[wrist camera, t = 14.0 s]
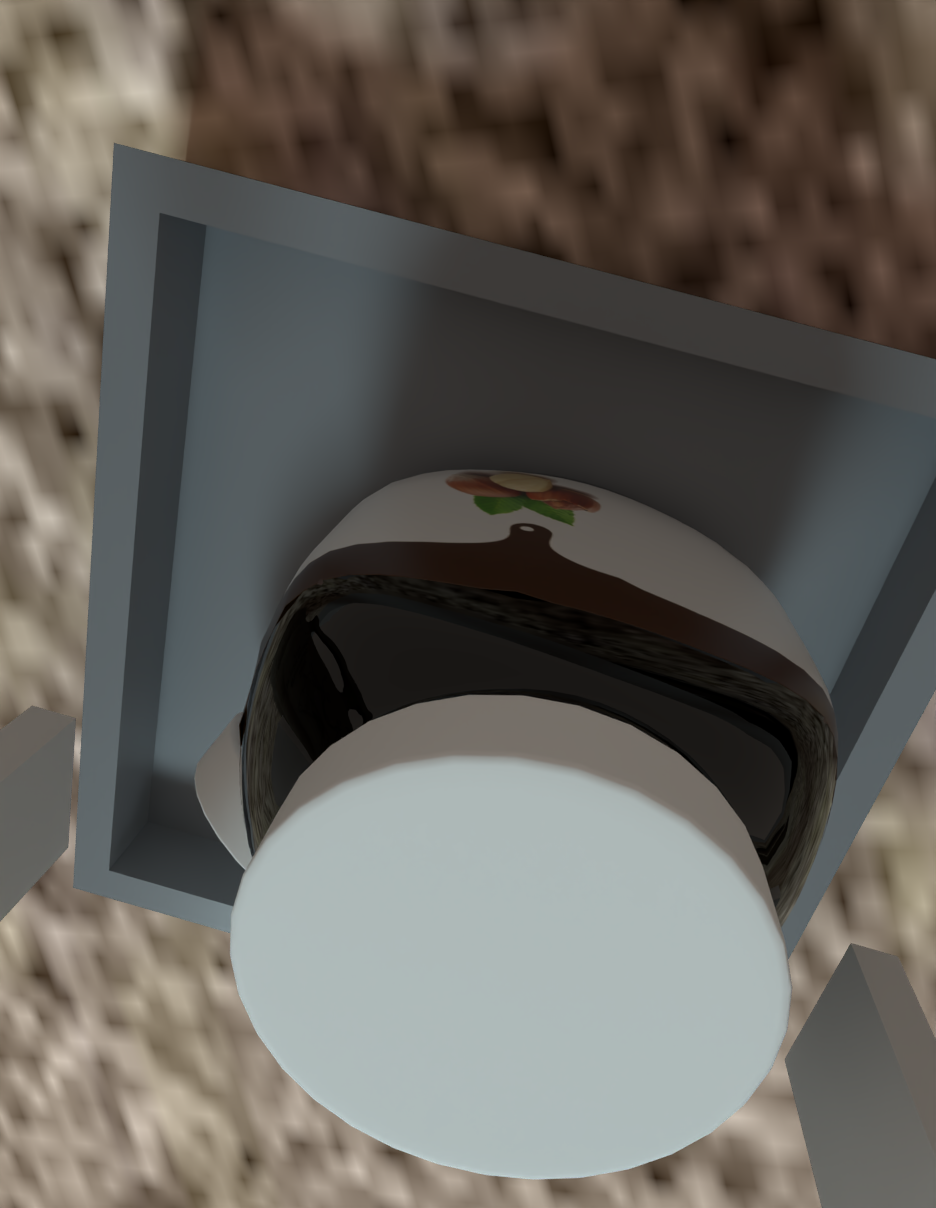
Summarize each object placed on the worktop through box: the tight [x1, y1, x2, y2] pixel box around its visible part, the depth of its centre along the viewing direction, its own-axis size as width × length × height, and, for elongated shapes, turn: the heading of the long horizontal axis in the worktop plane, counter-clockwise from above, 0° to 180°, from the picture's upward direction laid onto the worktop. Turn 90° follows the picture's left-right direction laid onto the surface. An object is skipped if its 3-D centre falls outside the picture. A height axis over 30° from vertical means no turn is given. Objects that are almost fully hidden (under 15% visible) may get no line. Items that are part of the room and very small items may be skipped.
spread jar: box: [194, 469, 838, 1179], centre depth 16 cm, size 12×11×12 cm
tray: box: [73, 143, 936, 959], centre depth 21 cm, size 19×19×3 cm
